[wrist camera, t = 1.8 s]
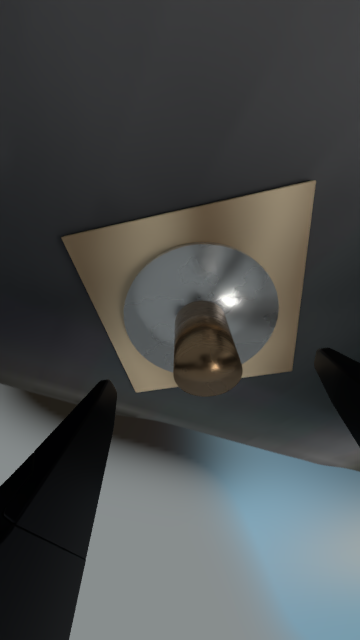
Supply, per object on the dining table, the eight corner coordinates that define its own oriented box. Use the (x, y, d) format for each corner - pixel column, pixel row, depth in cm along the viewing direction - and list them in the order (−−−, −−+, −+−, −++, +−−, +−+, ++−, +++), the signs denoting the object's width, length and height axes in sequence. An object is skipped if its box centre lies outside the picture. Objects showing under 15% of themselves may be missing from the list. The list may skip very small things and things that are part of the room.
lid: (277, 223, 10) (337, 250, 6) (272, 359, 15) (304, 420, 11) (101, 261, 11) (60, 304, 7) (149, 377, 16) (140, 439, 12)
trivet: (311, 180, 10) (315, 180, 9) (289, 367, 16) (291, 371, 16) (64, 235, 11) (61, 237, 11) (136, 388, 17) (135, 392, 17)
